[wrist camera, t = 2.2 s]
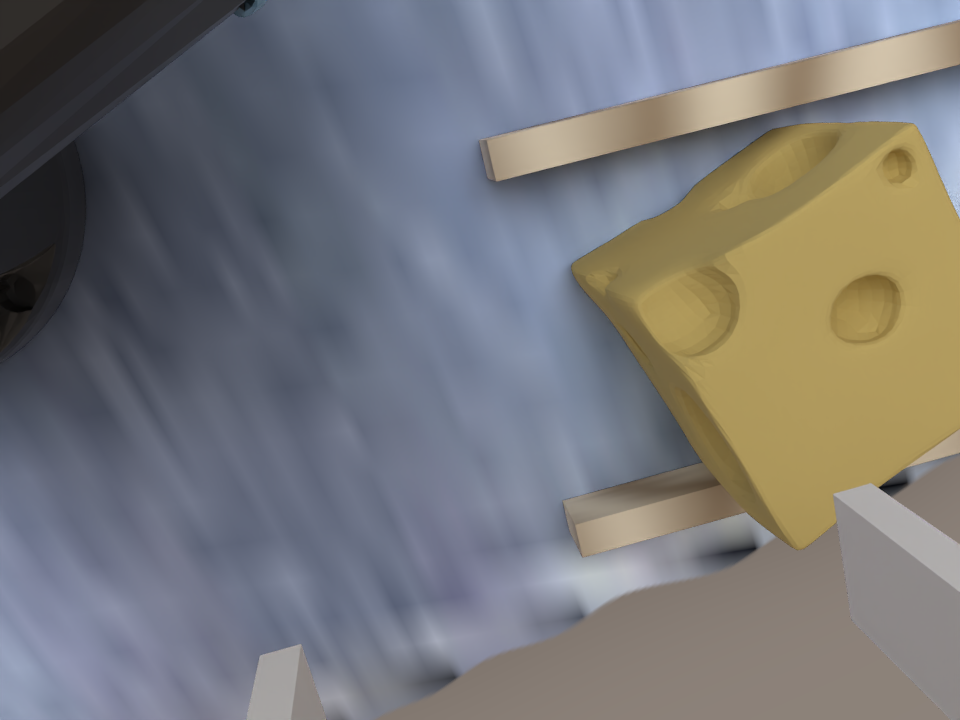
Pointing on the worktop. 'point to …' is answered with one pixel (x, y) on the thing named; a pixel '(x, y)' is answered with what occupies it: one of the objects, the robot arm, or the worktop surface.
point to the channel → (692, 488)
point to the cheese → (798, 315)
